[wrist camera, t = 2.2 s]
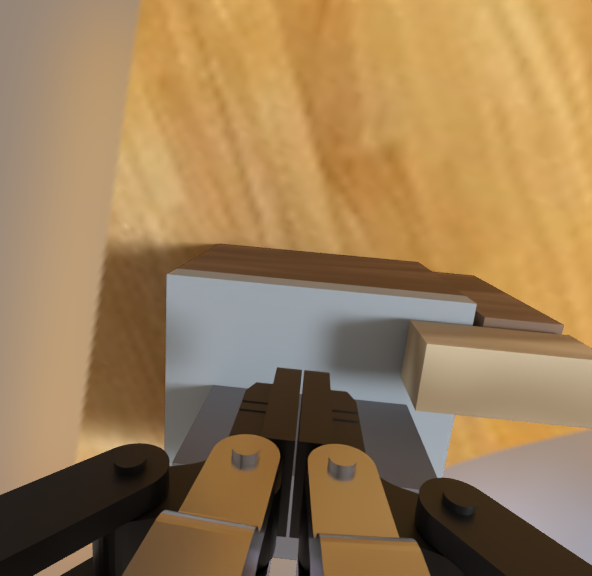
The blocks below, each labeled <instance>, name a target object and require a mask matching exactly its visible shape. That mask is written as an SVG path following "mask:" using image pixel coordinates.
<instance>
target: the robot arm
mask: <svg viewBox="0 0 592 576" xmlns="http://www.w3.org/2000/svg"><path fill="white" fill-rule="evenodd" d="M301 376H302V370H299V369H290V368H280V367H277V369H276V373H275V377H274V382H273V384H269V383H259V382H256V383H255V384H253V385H252V386H251V387H249V388H248V389H247V390H246V391H245V394H244V397H243V399H242V402H241V405H240V407H239V411H238V413H237V415H236V418H235V421H234V424H233V426H232V429H231V432H230V434H229V437H227V438H225V439H223V440H221V441H220V442H218V443H217V444H216V445H215V446H214V448H213V449H212V451H211V453H210V455H209V457H208V458H207V460H205V461H202V462H198V463H193V464H185V465H176V466H170V460H169V456H168V455H167V453H166V452H165V451H164V450H163V449H161V448H159V447H157V446H154V445H150V444H139V443H138V444H128V445H123V446H120V447H117V448H114V449H111V450H109V451H106V452H104V453H102V454H99V455H97V456H94V457H92V458H89V459H87V460H85V461H82V462H80V463H77V464H75V465H72V466H70V467H68V468H65V469H63V470H60V471H58V472H55V473H53V474H51V475H48V476H46V477H43V478H41V479H38V480H36V481H34V482H31V483H29V484H26V485H24V486H21V487H19V488H17V489H14V490H12V491H9V492H7V493H4V494H2V495H0V576H33V575H35V574H37V573H38V572H40V571H42V570H44V569H46V568H47V567H49V566H51V565H52V564H54V563H56V562H58V561H60V560H61V559H63V558H65V557H67V556H69V555H70V554H72V553H74V552H76V551H78V550H79V549H81V548H83V547H85V546H87V545H88V544H90V543H93V557H92V558H90V559H88V560H86V561H85V562H83V563H81V564H80V565H78V566H76V567H74V568H73V569H71V570H70V571H68V572H66V573H64V574H62V575H61V576H269V573H270V565H271V559H272V557H273V555H274V552H275V546H276V538H277V536H280V537H286V533H287V522H288V512H289V502H290V492H291V481H292V471H293V461H294V450H295V440H296V429H297V419H298V408H299V397H300V386H301ZM289 537H290V538H299V543H298V557H297V567H296V576H592V565H590V564H589V563H587V562H586V561H584V560H583V559H581V558H580V557H578V556H577V555H575V554H574V553H572V552H571V551H569V550H568V549H566V548H565V547H563V546H562V545H560V544H559V543H557V542H556V541H554V540H553V539H551V538H550V537H548V536H547V535H545V534H544V533H542V532H541V531H539V530H538V529H536V528H535V527H534V526H532V525H531V524H529V523H527V522H526V521H525V520H523V519H522V518H520V517H518V516H517V515H516V514H514V513H512V512H511V511H510V510H508V509H507V508H505V507H504V506H502V505H501V504H499V503H498V502H496V501H495V500H493V499H492V498H490V497H489V496H487V495H486V494H484V493H483V492H481V491H480V490H478V489H477V488H475V487H473V486H471V485H469V484H467V483H464V482H462V481H459V480H455V479H450V478H433V479H430V480H427V481H426V482H424V483H423V484H422V485H421V487H420V489H419V494H418V493H415V492H412V491H409V490H406V489H403V488H400V487H398V486H395V485H393V484H391V483H389V482H387V481H385V480H384V479H382V478H381V477H380V476H379V474H378V471H377V467H376V465H375V463H374V461H373V460H372V459H371V458H370V457H369V456H368V455H367V454H366V453H365V447H364V442H363V436H362V431H361V425H360V420H359V414H358V409H357V404H356V401H355V400H354V399H353V398H352V397H351V395H350V394H349V393H348V392H346V391H336V390H331V387H330V373H329V372H319V371H310V370H304V378H303V388H302V398H301V408H300V418H299V429H298V440H297V451H296V463H295V475H294V486H293V498H292V510H291V522H290V533H289Z"/></svg>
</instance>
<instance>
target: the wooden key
mask: <svg viewBox="0 0 592 576" xmlns="http://www.w3.org/2000/svg"><path fill="white" fill-rule="evenodd" d="M401 380H402V382H403V384H404V386H405V389H406V391H407V393H408V395H409V397H410V400H411V402H412V404H413V406H414V409H415V411H423V412H433V413H443V414H452V415H462V416H472V417H482V418H491V419H501V420H511V421H521V422H530V423H540V424H550V425H560V426H569V427H579V428H589V429H592V348H590V347H589V346H587V345H585V344H584V343H582V342H580V341H578V340H577V339H575V338H573V337H571V336H570V335H561V334H551V333H540V332H530V331H520V330H509V329H499V328H489V327H478V326H468V325H458V324H448V323H437V322H427V321H417V320H410V322H409V328H408V334H407V341H406V347H405V353H404V359H403V366H402V372H401Z"/></svg>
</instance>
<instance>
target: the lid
mask: <svg viewBox="0 0 592 576" xmlns="http://www.w3.org/2000/svg"><path fill="white" fill-rule="evenodd" d="M476 306H477V304H476V303H475V302H474V301H472V300H471V299H469V298H468V297H467V296H461V295H450V294H440V293H429V292H419V291H408V290H398V289H387V288H377V287H366V286H356V285H345V284H335V283H324V282H314V281H303V280H293V279H282V278H272V277H261V276H251V275H240V274H230V273H219V272H209V271H198V270H187V269H175V270H173V271H172V272H170V273H168V274H167V288H166V370H165V452H166V453H167V455H168V456H169V460H170V466H176V465H185V464H193V463H198V462H202V461H205V460H207V458H208V457H209V455H210V453H211V451H212V449H213V448H214V446H215V445H216V444H217V443H218V442H220V441H221V440H223V439H225V438H227V437H229V434H230V432H231V429H232V426H233V424H234V421H235V418H236V415H237V413H238V411H239V407H240V405H241V402H242V399H243V397H244V394H245V391H246V390H247V389H248V388H249V387H251V386H252V385H253V384H255V383H256V382H259V383H269V384H273V382H274V377H275V373H276V369H277V367H280V368H290V369H299V370H302V376H301V386H300V397H299V408H298V419H297V429H296V440H295V450H294V461H293V471H292V481H291V492H290V502H289V512H288V522H287V533H286V537H280V536H277V538H276V546H275V552H274V555H273V557H274V558H281V559H290V560H297V557H298V543H299V538H290V537H289V533H290V522H291V510H292V498H293V486H294V475H295V463H296V451H297V440H298V429H299V418H300V408H301V398H302V388H303V378H304V370H310V371H319V372H329V373H330V387H331V390H336V391H346V392H348V393H349V394H350V395H351V397H352V398H353V399H354V400H355V401H356V404H357V409H358V414H359V420H360V425H361V431H362V436H363V442H364V447H365V453H366V454H367V455H368V456H369V457H370V458H371V459H372V460H373V461H374V463H375V465H376V467H377V471H378V474H379V476H380V477H381V478H382V479H384V480H385V481H387V482H389V483H391V484H393V485H395V486H398V487H400V488H403V489H406V490H409V491H412V492H415V493H418V494H419V489H420V487H421V485H422V484H423V483H424V482H426V481H427V480H430V479H433V478H442V477H443V472H444V467H445V462H446V457H447V452H448V447H449V442H450V437H451V432H452V427H453V422H454V417H455V415H452V414H443V413H433V412H423V411H415V409H414V406H413V404H412V402H411V400H410V397H409V395H408V393H407V391H406V389H405V386H404V384H403V382H402V380H401V372H402V366H403V359H404V353H405V347H406V341H407V334H408V328H409V322H410V320H417V321H427V322H437V323H448V324H458V325H468V326H473V321H474V316H475V311H476ZM273 557H272V558H273Z"/></svg>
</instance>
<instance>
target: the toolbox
mask: <svg viewBox="0 0 592 576" xmlns="http://www.w3.org/2000/svg"><path fill="white" fill-rule="evenodd" d="M177 269H187V270H198V271H209V272H219V273H230V274H240V275H251V276H261V277H272V278H282V279H293V280H303V281H314V282H324V283H335V284H345V285H356V286H366V287H377V288H387V289H398V290H408V291H419V292H429V293H440V294H450V295H461V296H467V297H468V298H469V299H471V300H472V301H474V302H475V303H476V304H477V306H476V311H475V316H474V321H473V326H478V327H489V328H499V329H509V330H520V331H530V332H540V333H551V334H561V335H562V331H563V327H564V325H563V324H561V323H559V322H558V321H556V320H554V319H552V318H550V317H548V316H547V315H545V314H543V313H541V312H539V311H538V310H536V309H534V308H532V307H530V306H528V305H527V304H525V303H523V302H521V301H519V300H517V299H516V298H514V297H512V296H510V295H508V294H507V293H505V292H503V291H501V290H499V289H497V288H496V287H494V286H492V285H490V284H488V283H486V282H485V281H483V280H481V279H479V278H477V277H476V276H471V275H460V274H450V273H439V272H432V271H430V270H429V269H427V268H426V267H425V266H423V265H422V264H420V263H419V262H410V261H399V260H389V259H378V258H367V257H356V256H346V255H335V254H324V253H314V252H303V251H292V250H281V249H271V248H260V247H249V246H238V245H228V244H219V245H217V246H215V247H214V248H212V249H210V250H208V251H207V252H205V253H203V254H201V255H200V256H198V257H196V258H194V259H193V260H191V261H189V262H187V263H186V264H184V265H182V266H180V267H179V268H177Z"/></svg>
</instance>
